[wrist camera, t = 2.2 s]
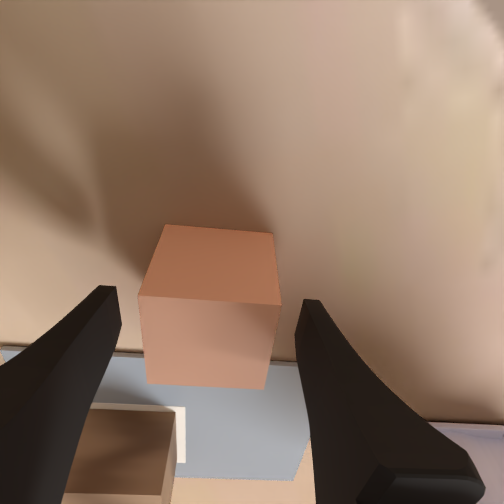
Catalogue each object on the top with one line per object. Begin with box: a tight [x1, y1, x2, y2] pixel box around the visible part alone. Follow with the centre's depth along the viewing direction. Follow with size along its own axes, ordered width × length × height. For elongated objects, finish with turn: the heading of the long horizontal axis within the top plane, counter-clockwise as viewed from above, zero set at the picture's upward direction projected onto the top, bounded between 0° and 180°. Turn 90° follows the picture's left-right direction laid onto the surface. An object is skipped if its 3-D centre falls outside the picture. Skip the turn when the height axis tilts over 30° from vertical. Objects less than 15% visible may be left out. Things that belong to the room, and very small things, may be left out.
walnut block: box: [61, 409, 177, 504], centre depth 21 cm, size 6×6×4 cm
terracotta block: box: [138, 224, 282, 390], centre depth 14 cm, size 4×4×4 cm
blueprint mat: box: [0, 346, 310, 481], centre depth 23 cm, size 18×14×1 cm
